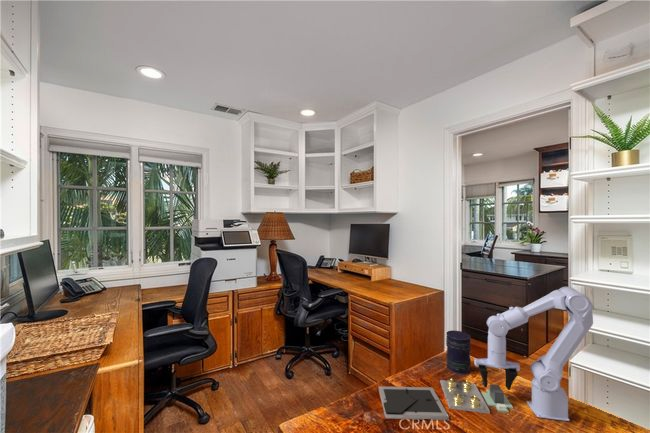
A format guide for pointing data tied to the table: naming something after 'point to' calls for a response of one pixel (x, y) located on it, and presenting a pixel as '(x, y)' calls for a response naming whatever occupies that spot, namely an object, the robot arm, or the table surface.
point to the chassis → (463, 396)
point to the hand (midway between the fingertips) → (496, 387)
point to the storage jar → (458, 352)
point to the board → (490, 402)
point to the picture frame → (412, 403)
